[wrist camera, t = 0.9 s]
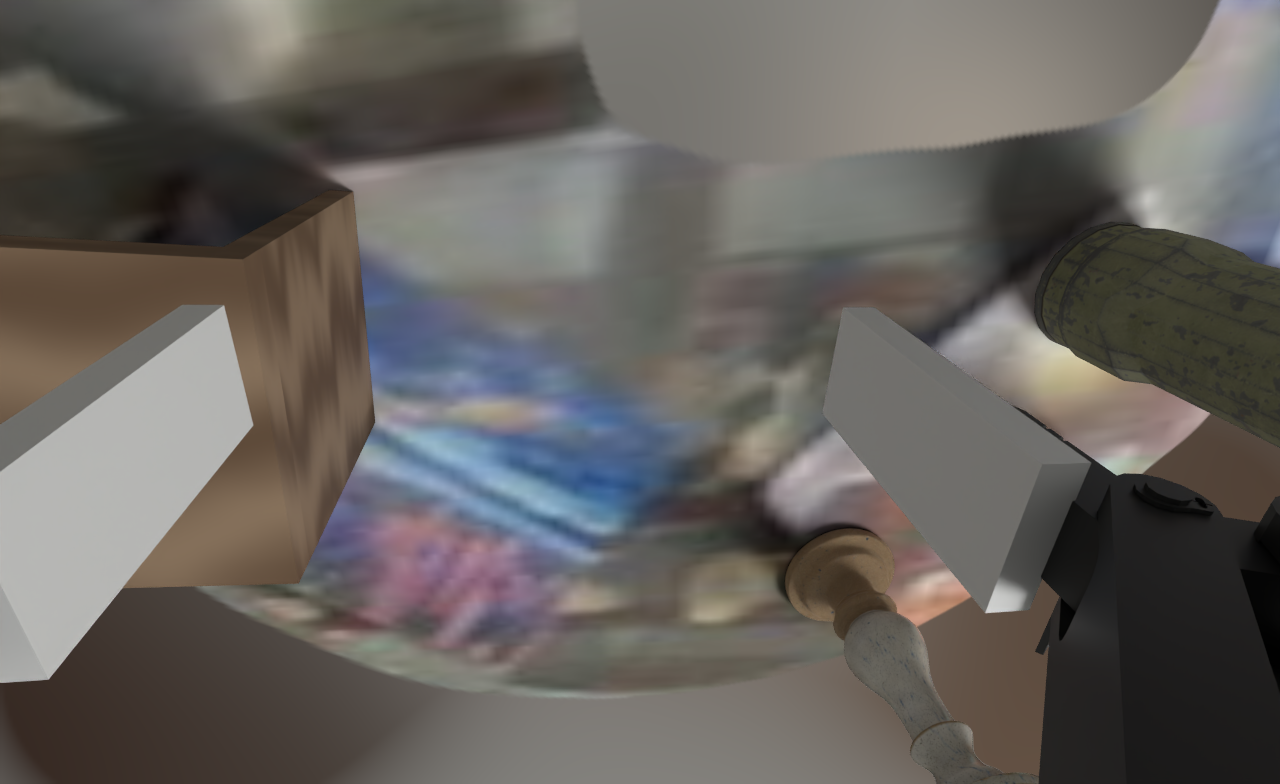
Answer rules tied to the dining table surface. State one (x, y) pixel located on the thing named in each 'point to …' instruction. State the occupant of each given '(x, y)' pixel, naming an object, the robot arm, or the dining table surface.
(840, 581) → the candle holder
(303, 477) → the wooden cubby
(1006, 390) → the dining table surface
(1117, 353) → the thermos
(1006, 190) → the dining table surface
